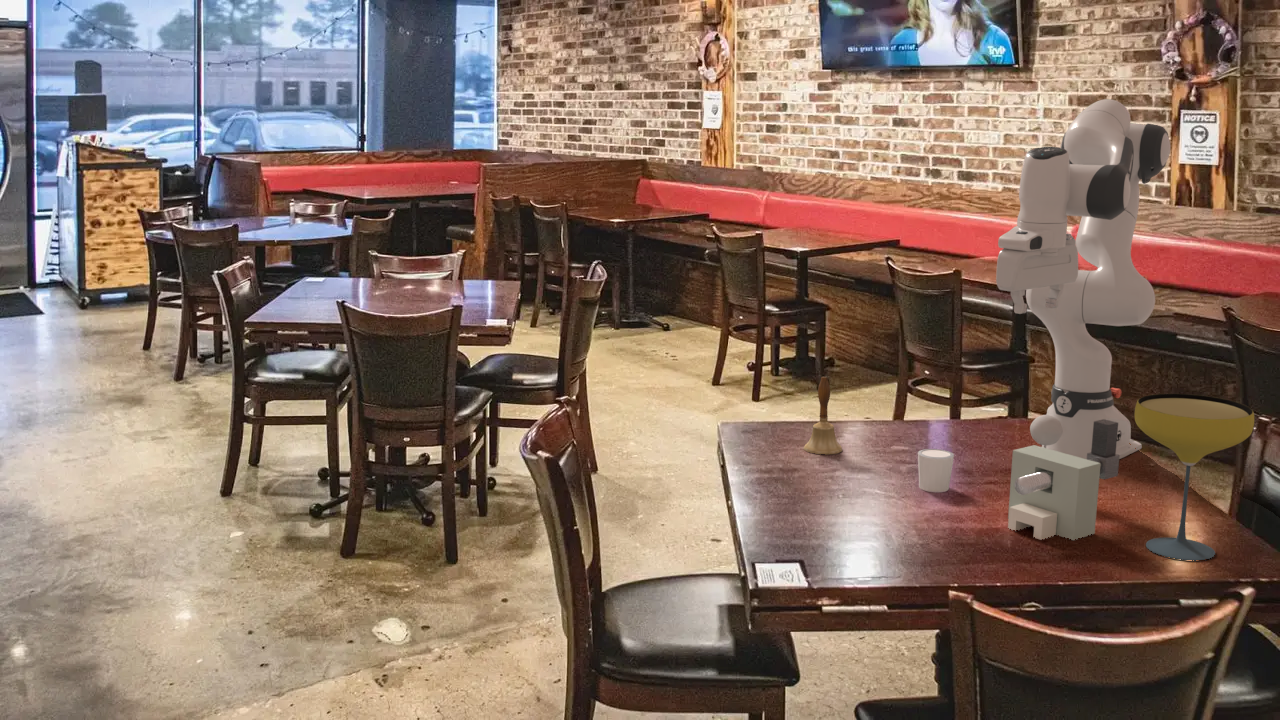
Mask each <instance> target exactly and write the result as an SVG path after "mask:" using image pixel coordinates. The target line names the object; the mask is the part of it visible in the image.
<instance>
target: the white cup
mask: <svg viewBox="0 0 1280 720" xmlns="http://www.w3.org/2000/svg"><path fill="white" fill-rule="evenodd" d="M954 459H955V454H954V453H953V452H951V451H950V450H949V451H948V450H944V449H940V448H939V449H937V448H925V449H922V450H921V449H920V450H919V451H917V465H918V466H917V469H918V488H919V489H920V490H922V491H925V492H929V493H946V492H947V491H949V490H950V483H951V477H952V471H953V464H954Z"/></svg>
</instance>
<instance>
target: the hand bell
mask: <svg viewBox="0 0 1280 720" xmlns="http://www.w3.org/2000/svg"><path fill="white" fill-rule="evenodd" d="M817 396H818V397H817V398H818V401H819V421H818V422H817V423H814V424H813V426H812V430H811V431H812V432H811V436H810V438H809V440H808V441H807V443H805V445H804V446H803V451H805V452H806V451H807V453H809V452H810V453H809V454H813V453H815V454H814V455H821V454H825V455H826V456H827V455H836V454H839V453H841V452H843V446H841V444H839V442H838V440H837V438H836V433H835V426H834V424H832V423H830V422H829V419H828V416H829V415H828V404H829V402H830V398H831V386H830V381H829V379H828V376H821V378H820V381H819V384H818V388H817ZM825 455H824V456H825Z"/></svg>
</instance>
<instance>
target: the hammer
mask: <svg viewBox="0 0 1280 720" xmlns="http://www.w3.org/2000/svg"><path fill="white" fill-rule="evenodd" d="M1117 432H1118V422H1114V421H1109V420H1105V419H1102V420H1098V421H1094V425H1093V437H1092V449H1091V452H1090V453H1087V460H1091V461H1094V462H1098V463H1101V464H1100V476H1099V480H1100V479H1101V480H1107V479H1110V478H1114V477H1119V464H1120V459H1119V456H1120V455H1118V454H1116V443H1117ZM1053 473H1054V472H1052V471H1049V470H1047V471H1043V472H1039V473H1035V474H1031V475H1028V476H1024V477H1020V478H1017V479H1016V480H1015V483H1014V486H1015V490H1016V491H1017V492H1018V493H1019V494H1021V495H1025V494H1029V493H1032V492H1036V491H1039V490H1043V489H1047V488H1050V487H1052V486H1053Z"/></svg>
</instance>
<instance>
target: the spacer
mask: <svg viewBox="0 0 1280 720" xmlns="http://www.w3.org/2000/svg"><path fill="white" fill-rule="evenodd" d="M1008 512H1009V519H1008V521H1007V523H1008V524H1007V529H1008V528H1009V529H1008V530H1010V529H1011V530H1010V531H1013V530H1015V532H1017V531H1016V530H1018V531H1021V530H1024V528H1025V529H1027V528H1026V527H1028V528H1030V527H1031V526H1034V527H1033V538H1034V537H1035V539H1038V540H1040V541H1042V539H1043V540H1045V538H1046V539H1049V538H1052V537H1054V535H1056V524H1057V513H1054V512H1051V511H1048V510H1044V509H1041V508H1038V507H1035V506H1032V505H1029V504H1026V503H1022V504H1019V505H1015V506H1012V507H1009V506H1008ZM1030 525H1031V526H1030ZM1020 529H1021V530H1020ZM1051 536H1052V537H1051ZM1056 536H1057V535H1056ZM1048 537H1049V538H1048Z"/></svg>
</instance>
